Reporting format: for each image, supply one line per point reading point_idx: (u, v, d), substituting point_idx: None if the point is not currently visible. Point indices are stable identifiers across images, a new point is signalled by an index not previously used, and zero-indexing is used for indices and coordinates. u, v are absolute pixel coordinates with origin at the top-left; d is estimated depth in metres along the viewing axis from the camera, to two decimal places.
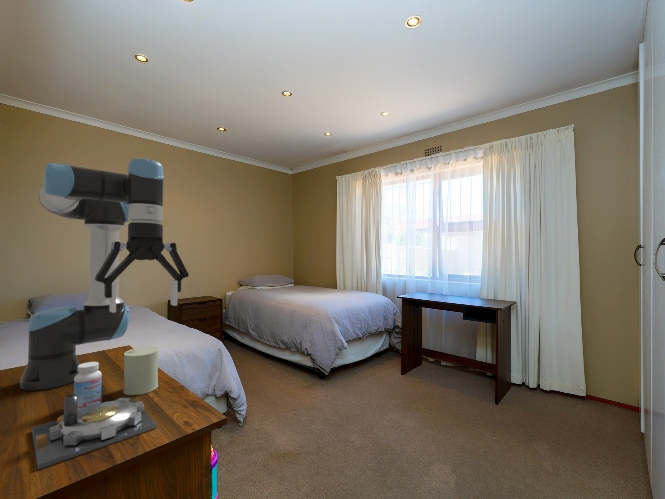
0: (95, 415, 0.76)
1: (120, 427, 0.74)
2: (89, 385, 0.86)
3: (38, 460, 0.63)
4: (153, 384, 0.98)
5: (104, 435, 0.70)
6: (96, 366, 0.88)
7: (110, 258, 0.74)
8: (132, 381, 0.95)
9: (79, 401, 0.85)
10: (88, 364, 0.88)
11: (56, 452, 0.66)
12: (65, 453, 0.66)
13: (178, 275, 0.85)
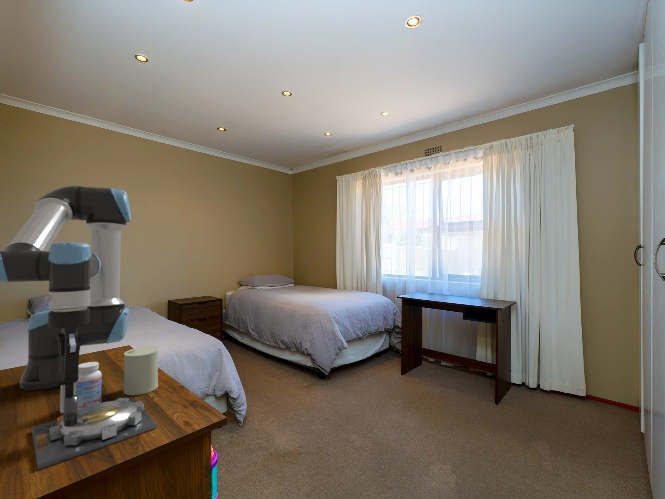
0: (95, 415, 0.76)
1: (120, 427, 0.74)
2: (89, 385, 0.86)
3: (38, 460, 0.63)
4: (153, 384, 0.98)
5: (105, 435, 0.70)
6: (96, 366, 0.88)
7: None
8: (132, 381, 0.95)
9: (79, 401, 0.85)
10: (88, 364, 0.88)
11: (56, 452, 0.66)
12: (65, 453, 0.66)
13: (62, 379, 0.73)
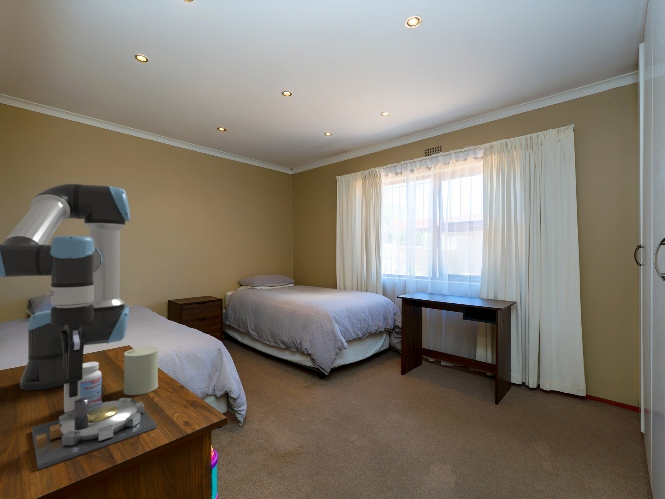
0: (99, 415, 0.76)
1: None
2: (89, 385, 0.86)
3: (38, 460, 0.63)
4: (153, 384, 0.98)
5: (134, 421, 0.76)
6: (96, 366, 0.88)
7: None
8: (132, 381, 0.95)
9: None
10: (88, 364, 0.88)
11: (56, 452, 0.66)
12: (65, 453, 0.66)
13: (66, 378, 0.71)
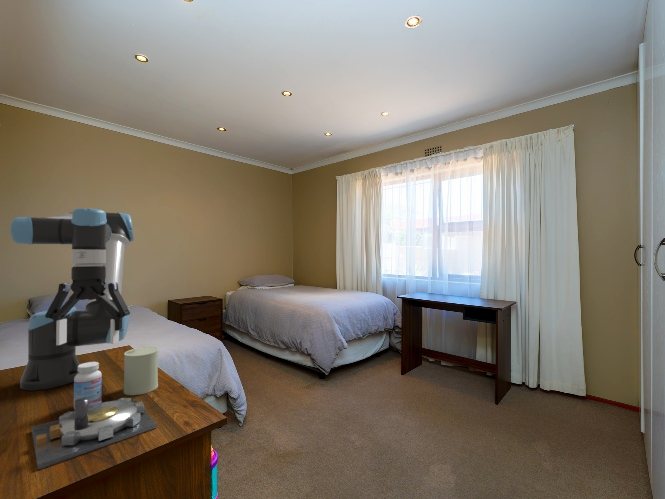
0: (99, 415, 0.76)
1: None
2: (89, 385, 0.86)
3: (38, 460, 0.63)
4: (153, 384, 0.98)
5: (134, 421, 0.76)
6: (96, 366, 0.88)
7: (55, 298, 0.86)
8: (132, 381, 0.95)
9: None
10: (88, 364, 0.88)
11: (56, 452, 0.66)
12: (65, 453, 0.66)
13: (115, 314, 0.88)
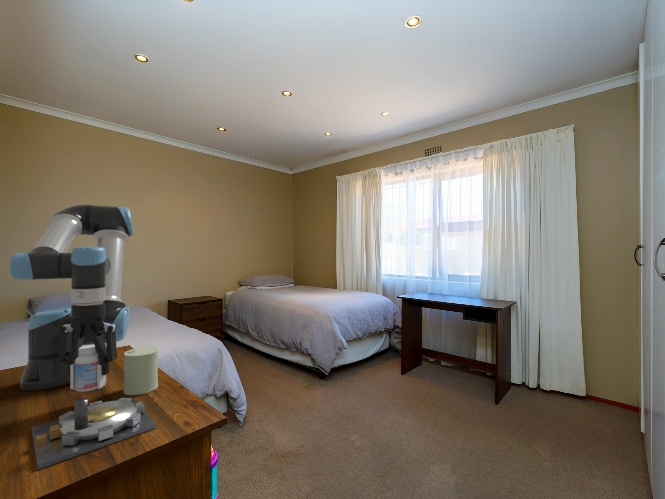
0: (99, 415, 0.76)
1: None
2: (90, 367, 0.87)
3: (38, 460, 0.63)
4: (153, 384, 0.98)
5: (134, 421, 0.76)
6: None
7: (61, 341, 0.87)
8: (132, 381, 0.95)
9: (80, 382, 0.86)
10: (89, 347, 0.89)
11: (56, 452, 0.66)
12: (65, 453, 0.66)
13: (102, 359, 0.88)
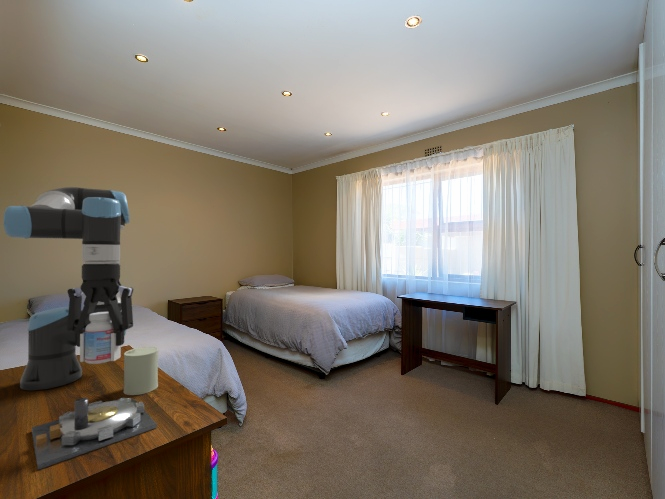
0: (99, 415, 0.76)
1: None
2: (103, 335, 0.75)
3: (38, 460, 0.63)
4: (153, 384, 0.98)
5: (134, 421, 0.76)
6: None
7: (70, 306, 0.75)
8: (132, 381, 0.95)
9: (91, 353, 0.74)
10: (101, 313, 0.77)
11: (56, 452, 0.66)
12: (65, 453, 0.66)
13: (117, 327, 0.76)
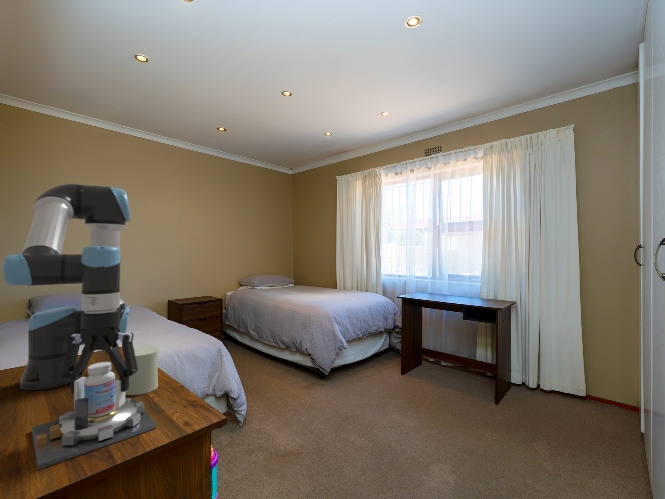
0: None
1: None
2: (102, 388, 0.75)
3: (38, 460, 0.63)
4: (153, 384, 0.98)
5: (134, 421, 0.76)
6: (109, 367, 0.77)
7: (67, 354, 0.75)
8: (132, 381, 0.95)
9: (91, 407, 0.74)
10: (99, 365, 0.77)
11: (56, 452, 0.66)
12: (65, 453, 0.66)
13: (121, 373, 0.76)
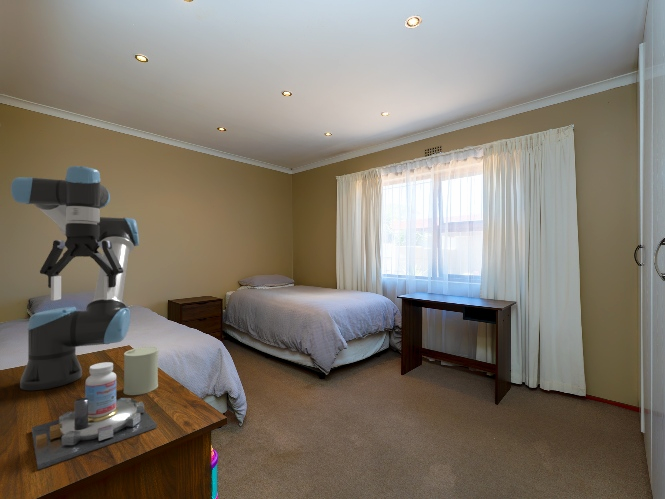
0: None
1: None
2: (103, 389, 0.75)
3: (38, 460, 0.63)
4: (153, 384, 0.98)
5: (134, 421, 0.76)
6: (110, 367, 0.77)
7: (50, 254, 0.88)
8: (132, 381, 0.95)
9: (91, 407, 0.74)
10: (101, 365, 0.77)
11: (56, 452, 0.66)
12: (65, 453, 0.66)
13: (108, 271, 0.89)
